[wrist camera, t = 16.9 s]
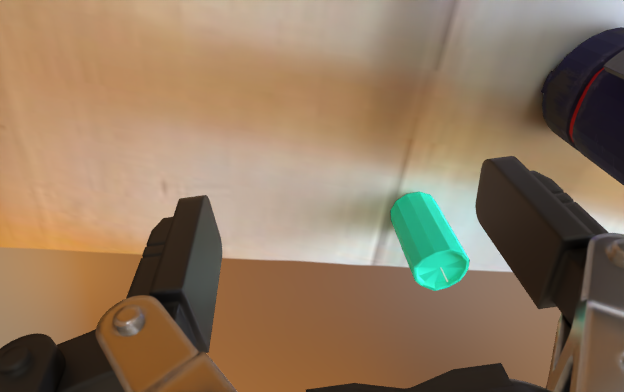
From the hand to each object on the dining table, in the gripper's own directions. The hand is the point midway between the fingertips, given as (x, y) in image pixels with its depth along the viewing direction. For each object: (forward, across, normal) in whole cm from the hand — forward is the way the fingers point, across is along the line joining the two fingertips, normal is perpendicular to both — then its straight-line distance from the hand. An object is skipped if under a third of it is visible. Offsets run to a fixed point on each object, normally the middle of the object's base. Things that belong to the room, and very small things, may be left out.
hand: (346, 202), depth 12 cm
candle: (+30, -12, +25) cm, 41 cm away
